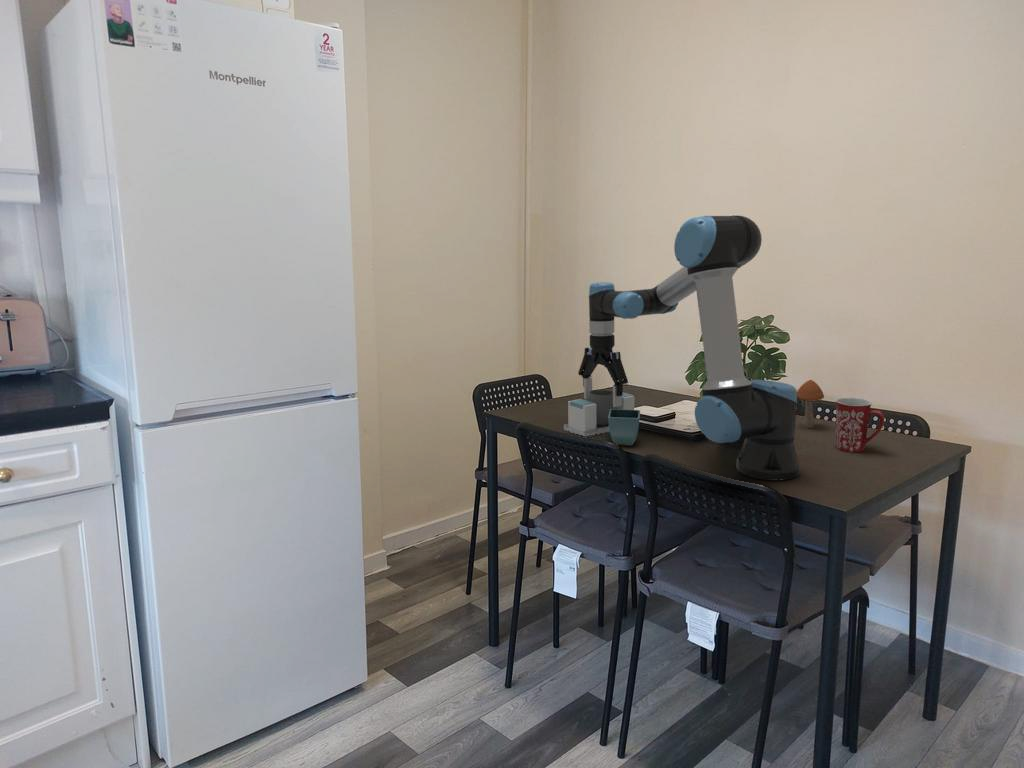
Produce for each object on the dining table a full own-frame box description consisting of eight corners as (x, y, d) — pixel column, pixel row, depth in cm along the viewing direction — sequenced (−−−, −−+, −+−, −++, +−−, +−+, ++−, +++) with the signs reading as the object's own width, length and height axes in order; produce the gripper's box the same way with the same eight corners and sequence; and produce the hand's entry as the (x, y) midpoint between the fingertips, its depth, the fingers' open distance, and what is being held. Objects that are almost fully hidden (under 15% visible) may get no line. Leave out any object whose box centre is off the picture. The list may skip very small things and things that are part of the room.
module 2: (634, 420, 223) (634, 395, 221) (623, 423, 221) (623, 397, 219) (616, 415, 230) (617, 390, 228) (606, 417, 227) (606, 392, 225)
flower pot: (639, 448, 200) (639, 418, 198) (607, 447, 202) (607, 417, 200) (639, 439, 209) (640, 409, 207) (609, 438, 211) (609, 408, 208)
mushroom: (794, 430, 213) (797, 381, 210) (792, 422, 221) (795, 376, 217) (823, 432, 211) (827, 383, 208) (820, 424, 218) (823, 377, 215)
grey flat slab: (638, 424, 223) (638, 419, 223) (584, 437, 211) (584, 432, 211) (617, 417, 231) (617, 412, 231) (563, 429, 219) (563, 424, 219)
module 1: (596, 429, 215) (596, 403, 213) (584, 432, 212) (584, 406, 210) (579, 423, 221) (579, 398, 219) (568, 426, 219) (568, 400, 217)
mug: (825, 448, 197) (829, 401, 194) (840, 441, 202) (844, 395, 199) (872, 459, 187) (877, 409, 184) (886, 451, 193) (891, 403, 190)
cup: (602, 429, 215) (603, 397, 212) (580, 423, 221) (580, 392, 219) (622, 423, 221) (623, 392, 219) (599, 417, 228) (600, 387, 225)
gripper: (640, 337, 206) (639, 407, 211) (585, 328, 227) (585, 393, 231) (620, 339, 202) (620, 411, 207) (566, 331, 223) (567, 397, 227)
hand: (602, 402), depth 219 cm, fingers open, 13 cm apart
